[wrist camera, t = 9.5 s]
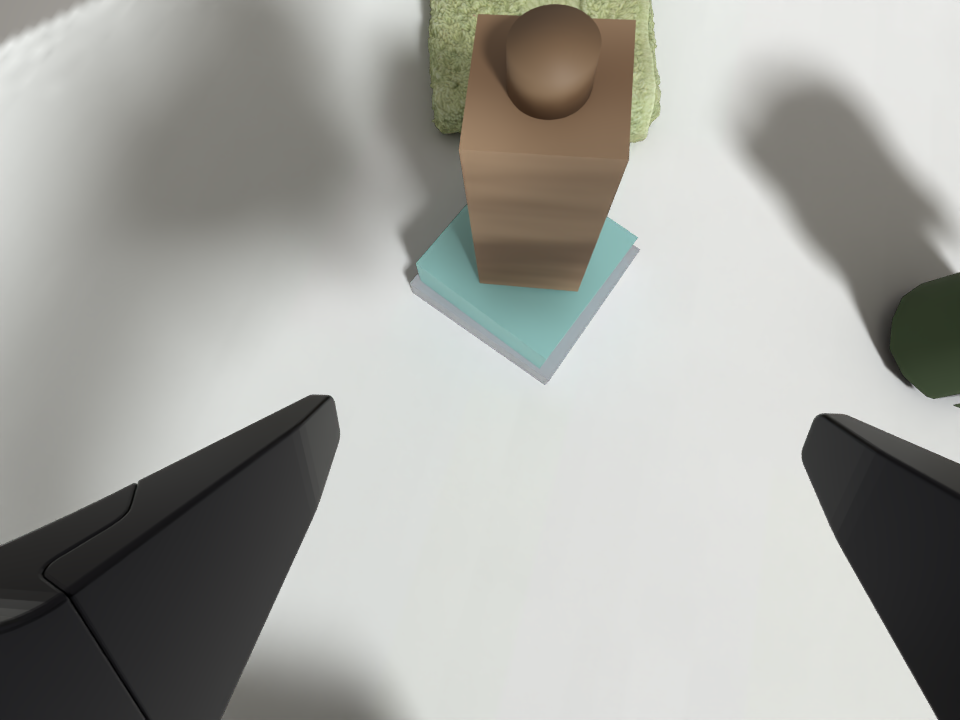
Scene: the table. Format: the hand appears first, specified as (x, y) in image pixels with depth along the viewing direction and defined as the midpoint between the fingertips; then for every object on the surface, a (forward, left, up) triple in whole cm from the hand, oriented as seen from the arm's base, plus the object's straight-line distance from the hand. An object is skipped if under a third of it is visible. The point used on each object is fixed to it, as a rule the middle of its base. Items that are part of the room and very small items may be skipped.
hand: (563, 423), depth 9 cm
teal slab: (+7, +4, -12) cm, 15 cm away
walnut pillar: (+8, +4, -10) cm, 13 cm away
